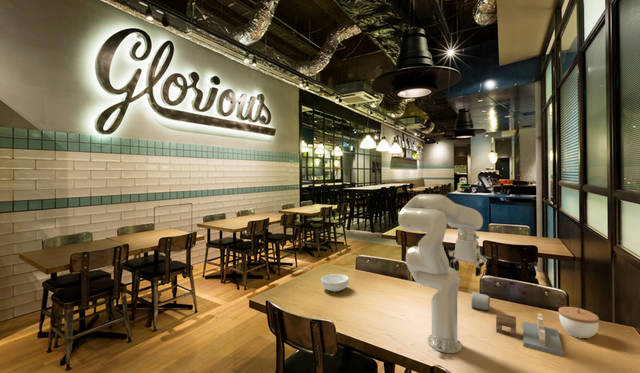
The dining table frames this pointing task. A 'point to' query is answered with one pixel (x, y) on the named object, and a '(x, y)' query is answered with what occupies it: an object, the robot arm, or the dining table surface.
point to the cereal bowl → (334, 282)
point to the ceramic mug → (480, 301)
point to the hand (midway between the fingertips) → (467, 272)
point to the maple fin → (541, 329)
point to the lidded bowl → (578, 322)
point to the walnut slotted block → (506, 323)
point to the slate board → (550, 339)
